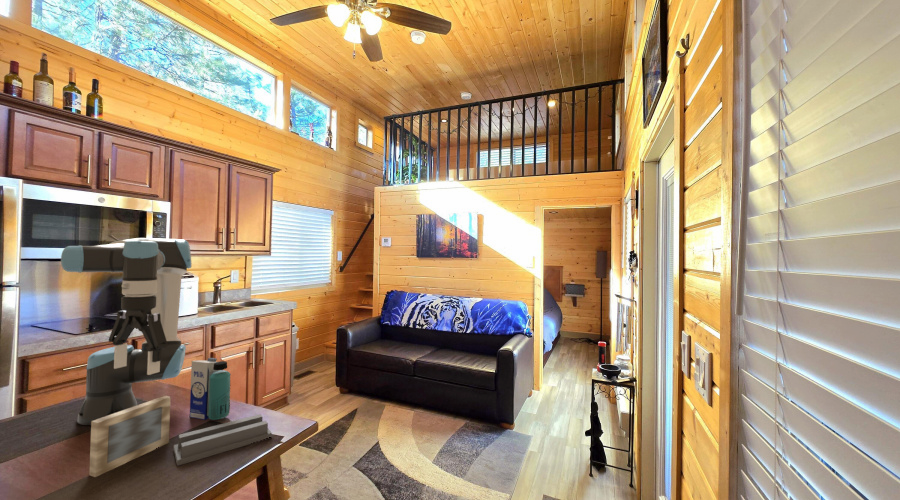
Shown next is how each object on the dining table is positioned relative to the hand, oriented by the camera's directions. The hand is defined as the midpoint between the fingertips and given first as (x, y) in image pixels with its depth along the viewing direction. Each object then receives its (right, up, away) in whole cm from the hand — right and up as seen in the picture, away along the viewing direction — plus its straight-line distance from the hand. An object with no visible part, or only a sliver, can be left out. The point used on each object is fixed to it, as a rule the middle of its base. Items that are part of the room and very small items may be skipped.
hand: (136, 370), depth 102 cm
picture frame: (-1, -25, 0) cm, 25 cm away
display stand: (+20, -25, +8) cm, 33 cm away
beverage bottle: (+8, -25, +23) cm, 35 cm away
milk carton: (+1, -25, +27) cm, 37 cm away
